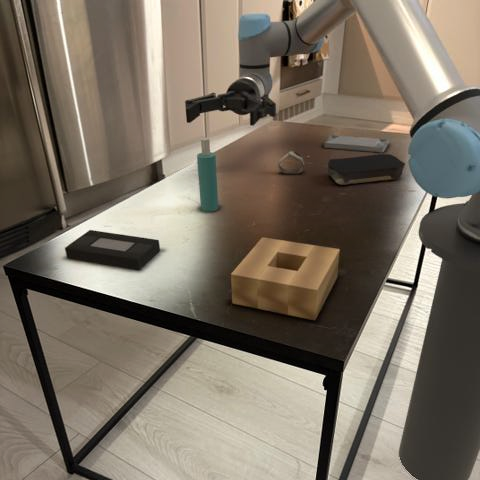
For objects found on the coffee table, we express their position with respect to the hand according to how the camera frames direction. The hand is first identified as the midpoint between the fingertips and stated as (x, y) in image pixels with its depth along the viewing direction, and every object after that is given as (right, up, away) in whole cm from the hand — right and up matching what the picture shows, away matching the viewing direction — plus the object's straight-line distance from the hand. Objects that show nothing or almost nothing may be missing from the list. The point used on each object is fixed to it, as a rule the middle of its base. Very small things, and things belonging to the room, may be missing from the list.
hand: (219, 117), depth 102 cm
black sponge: (+33, -9, +14) cm, 37 cm away
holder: (+11, -37, -26) cm, 46 cm away
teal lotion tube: (-2, -18, +1) cm, 18 cm away
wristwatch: (+16, -6, +18) cm, 25 cm away
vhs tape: (-18, -30, -14) cm, 38 cm away
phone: (+36, +6, +34) cm, 50 cm away
